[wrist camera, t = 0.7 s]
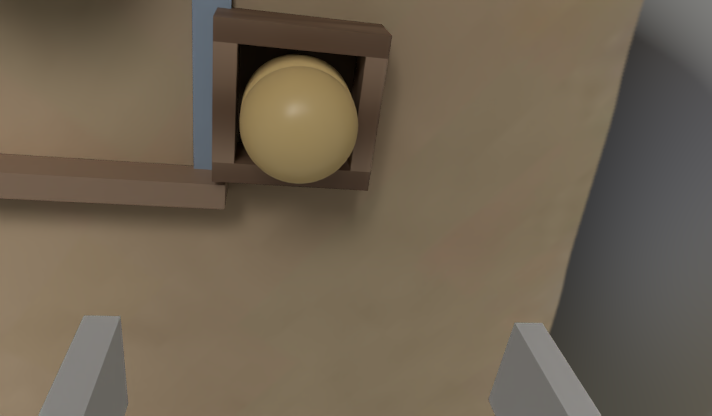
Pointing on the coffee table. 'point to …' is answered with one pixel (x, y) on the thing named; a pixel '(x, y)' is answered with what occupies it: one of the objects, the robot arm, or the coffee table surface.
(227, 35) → the base
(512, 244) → the coffee table surface
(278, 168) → the pale yellow sphere
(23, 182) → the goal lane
